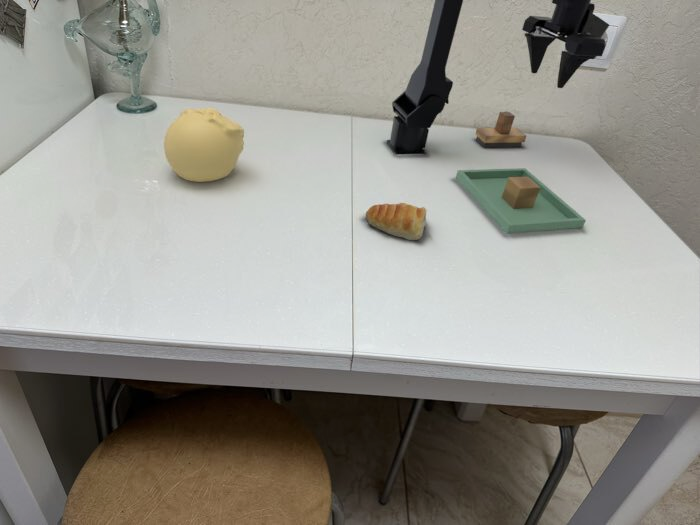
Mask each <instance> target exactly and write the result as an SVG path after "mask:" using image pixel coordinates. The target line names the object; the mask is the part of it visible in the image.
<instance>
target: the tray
mask: <svg viewBox="0 0 700 525" xmlns="http://www.w3.org/2000/svg"><path fill="white" fill-rule="evenodd" d="M508 177H529V178H530V179H531V180H532V181H534V182H535V183H536V184H537V185H538V186H539V187H541V188H540V191H539V193H538V196H537V198H536V201H535V203H534V206H533V208H520V209H513V208H512V207H511V206H510V205H509V204H508V203H507V202H506V201H505V200H504V199H503V198H502V195H503V192H504V189H505V186H506V183H507V180H508ZM455 179H456V180H457V181H458V182H459V183H460V184H461V185H462V187H463V188H464V189H465V190H467V192H468V193H469V194H470V195H471V196H472V197H473V199H475V201H476V202H477V203H478V204H479V205H480V206H481V207H482V208H483V209H484V211H485V212H486V213H487V214H488V215H489V216H490V217H491V218H492V219H493V220H494V221H495V222H496V224H497V225H498V226H499V227H500V228H501V229H502V230H503V231H504V232H505V234H518V233H519V234H520V233H531V232H532V233H533V232H544V231H558V230H571V229H582V228H583V227H584V224H585V223H586V219H585V217H583V216H582V215H581V214H579V213H578V211H576V210H574V208H573V207H571V206H570V205H569V204H568V203H567V202H565V201H564V200H563V199H562V198H560V197H559V196H558V194H556V193H555V192H554V191H552V189H550V188H549V187H548V186H547V185H545V184H544V182H542V181H541V180H539V178H537V177H536V176H535V175H534V174H533V173H531V172H530V171H529V169H527V168H525V167H521V168H518V167H516V168H489V169H488V168H487V169H486V168H485V169H484V168H483V169H459V170H457V172H456V175H455Z"/></svg>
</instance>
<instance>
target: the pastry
mask: <svg viewBox="0 0 700 525" xmlns="http://www.w3.org/2000/svg"><path fill="white" fill-rule="evenodd" d="M365 218H366V221H367V222H368V223H369V225H371V226H372V227H373V228H375V229H377V230H380V231H382V232H384V233H386V234H388V235H392V236H394V237H398V238H404V239H405V240H407V241H408V240H409V241H418V240H420V239H421V238H422V236H423V234H424V228H425V227H426V225H427V209H426V208H425V207H424V206H422V207H418V206H414V205H412V204H408V203H405V202H399V203H392V204H390V203H383V204H374V205H372V206H370V207H369V208H368V209H367V210H366V212H365Z"/></svg>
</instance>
